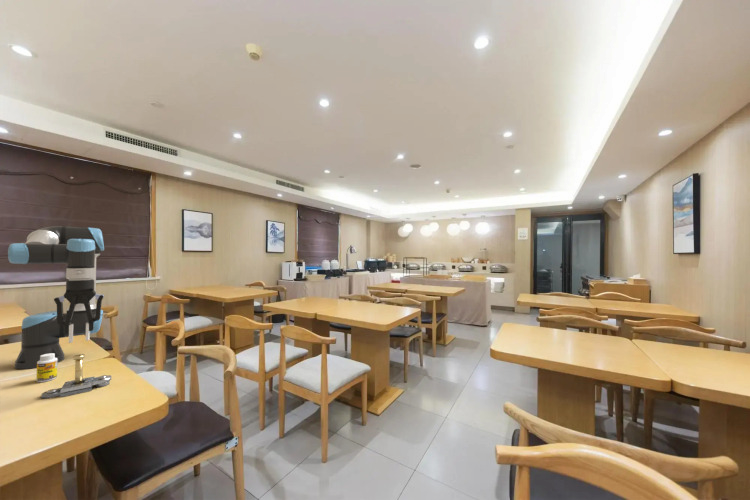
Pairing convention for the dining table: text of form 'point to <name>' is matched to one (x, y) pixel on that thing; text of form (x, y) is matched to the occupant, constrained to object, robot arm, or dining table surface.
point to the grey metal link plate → (77, 387)
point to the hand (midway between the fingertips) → (79, 340)
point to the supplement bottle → (46, 368)
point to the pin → (78, 368)
